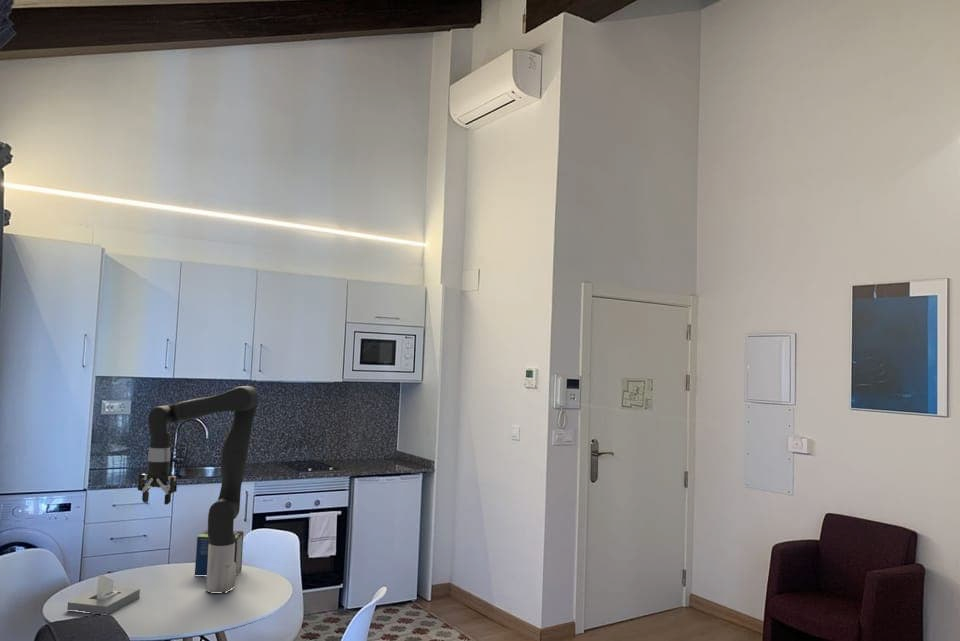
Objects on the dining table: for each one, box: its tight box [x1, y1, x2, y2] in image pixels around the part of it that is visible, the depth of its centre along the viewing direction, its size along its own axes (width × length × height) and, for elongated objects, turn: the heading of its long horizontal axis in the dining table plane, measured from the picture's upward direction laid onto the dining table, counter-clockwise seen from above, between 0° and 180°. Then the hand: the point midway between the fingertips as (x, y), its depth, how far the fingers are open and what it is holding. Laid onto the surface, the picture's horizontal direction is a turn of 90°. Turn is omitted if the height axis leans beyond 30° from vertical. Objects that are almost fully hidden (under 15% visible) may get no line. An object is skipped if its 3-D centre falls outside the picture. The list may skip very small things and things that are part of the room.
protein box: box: [194, 529, 244, 576], centre depth 286 cm, size 10×15×16 cm
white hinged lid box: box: [96, 574, 118, 601], centre depth 246 cm, size 4×10×9 cm, turn 171°
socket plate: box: [66, 585, 141, 615], centre depth 247 cm, size 14×18×3 cm
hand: (156, 503), depth 269 cm, fingers open, 8 cm apart
